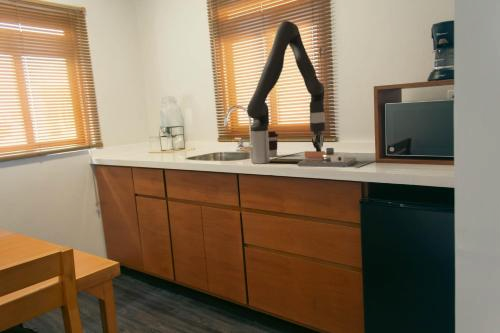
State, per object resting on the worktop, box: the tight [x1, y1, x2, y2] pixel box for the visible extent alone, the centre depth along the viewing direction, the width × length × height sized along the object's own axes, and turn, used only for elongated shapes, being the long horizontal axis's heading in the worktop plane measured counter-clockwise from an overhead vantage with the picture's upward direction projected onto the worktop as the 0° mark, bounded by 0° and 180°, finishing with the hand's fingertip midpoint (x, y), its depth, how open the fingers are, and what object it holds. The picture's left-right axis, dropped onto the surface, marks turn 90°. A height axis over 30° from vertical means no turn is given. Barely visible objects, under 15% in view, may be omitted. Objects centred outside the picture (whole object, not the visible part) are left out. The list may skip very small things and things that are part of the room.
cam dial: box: [304, 147, 340, 160], centre depth 197 cm, size 17×8×5 cm, turn 61°
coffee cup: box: [268, 130, 279, 158], centre depth 238 cm, size 10×10×15 cm
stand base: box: [297, 154, 357, 168], centre depth 194 cm, size 24×17×5 cm
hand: (318, 155), depth 201 cm, fingers closed
